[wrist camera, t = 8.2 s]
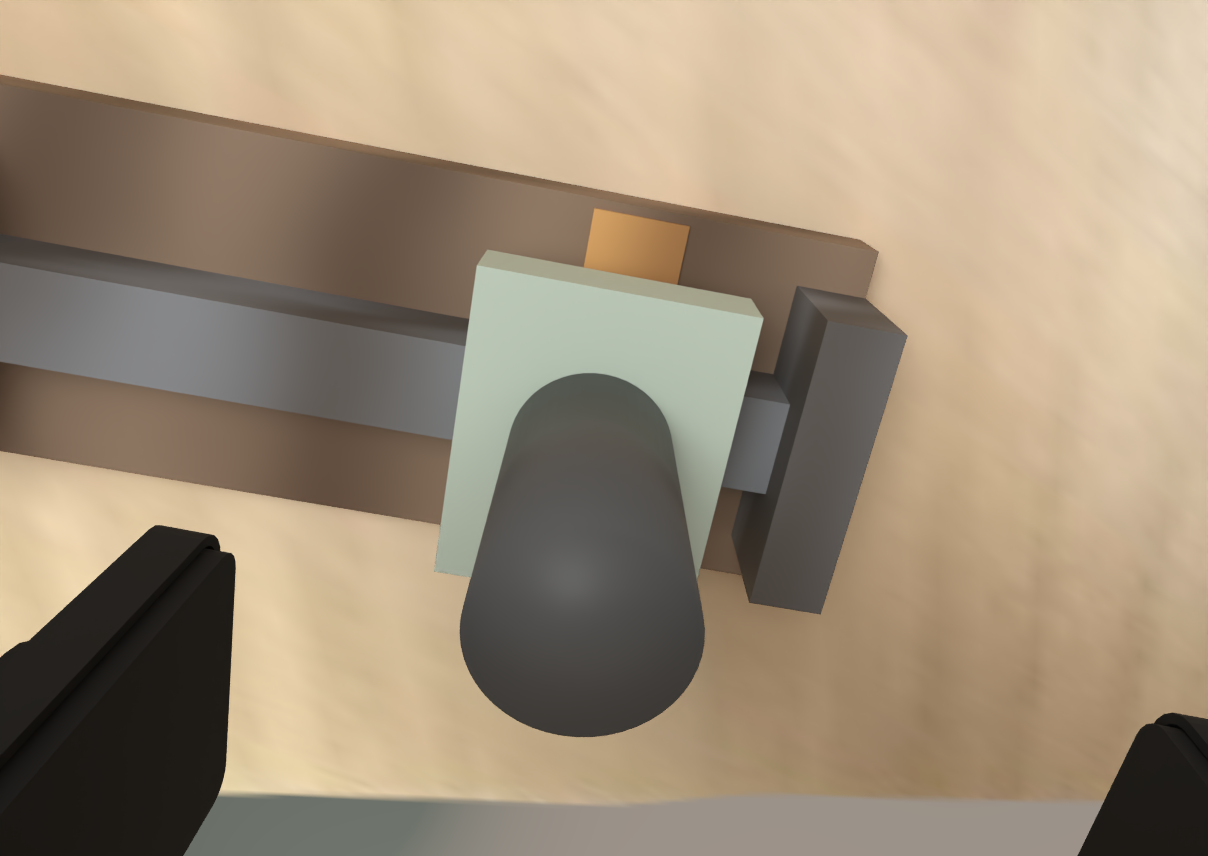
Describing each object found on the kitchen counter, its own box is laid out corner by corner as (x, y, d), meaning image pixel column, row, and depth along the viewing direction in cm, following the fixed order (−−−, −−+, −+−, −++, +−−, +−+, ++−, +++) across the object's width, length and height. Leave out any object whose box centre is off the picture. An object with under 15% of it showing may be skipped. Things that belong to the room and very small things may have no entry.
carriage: (737, 277, 19) (846, 449, 11) (676, 531, 22) (725, 852, 13) (498, 231, 19) (406, 370, 10) (460, 494, 21) (355, 798, 12)
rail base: (860, 239, 21) (923, 282, 17) (772, 551, 24) (807, 654, 20) (-58, 63, 20) (-238, 61, 16) (-37, 415, 23) (-185, 493, 18)
